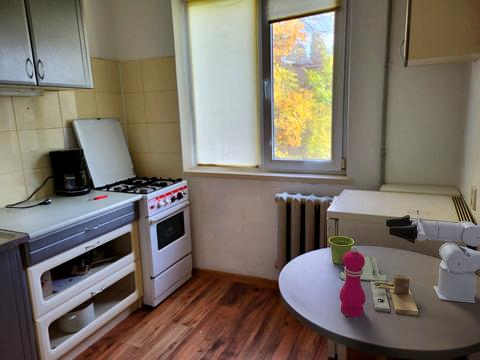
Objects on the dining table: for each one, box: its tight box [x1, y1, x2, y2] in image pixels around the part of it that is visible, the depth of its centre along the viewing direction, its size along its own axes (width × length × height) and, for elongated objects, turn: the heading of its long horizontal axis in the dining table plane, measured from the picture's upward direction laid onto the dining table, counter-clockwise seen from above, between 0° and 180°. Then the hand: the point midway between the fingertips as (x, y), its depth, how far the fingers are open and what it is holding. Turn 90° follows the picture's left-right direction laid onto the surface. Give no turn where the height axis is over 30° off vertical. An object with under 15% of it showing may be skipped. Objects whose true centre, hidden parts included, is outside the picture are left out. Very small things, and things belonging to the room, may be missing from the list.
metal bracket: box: [339, 254, 388, 283], centre depth 125 cm, size 14×6×15 cm
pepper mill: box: [339, 246, 367, 318], centre depth 100 cm, size 7×7×20 cm
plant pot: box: [328, 235, 355, 266], centre depth 134 cm, size 9×9×9 cm
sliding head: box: [377, 273, 411, 294], centre depth 109 cm, size 9×2×5 cm, turn 74°
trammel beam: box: [375, 281, 419, 316], centre depth 108 cm, size 10×16×2 cm, turn 165°
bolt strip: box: [369, 281, 391, 313], centre depth 109 cm, size 4×16×1 cm, turn 164°
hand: (387, 226), depth 110 cm, fingers open, 7 cm apart
